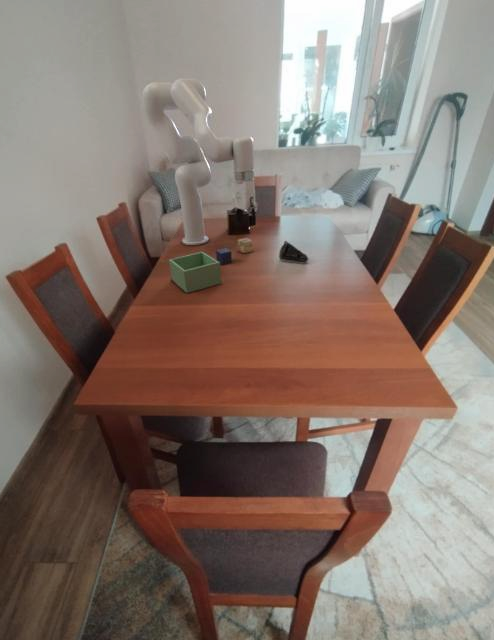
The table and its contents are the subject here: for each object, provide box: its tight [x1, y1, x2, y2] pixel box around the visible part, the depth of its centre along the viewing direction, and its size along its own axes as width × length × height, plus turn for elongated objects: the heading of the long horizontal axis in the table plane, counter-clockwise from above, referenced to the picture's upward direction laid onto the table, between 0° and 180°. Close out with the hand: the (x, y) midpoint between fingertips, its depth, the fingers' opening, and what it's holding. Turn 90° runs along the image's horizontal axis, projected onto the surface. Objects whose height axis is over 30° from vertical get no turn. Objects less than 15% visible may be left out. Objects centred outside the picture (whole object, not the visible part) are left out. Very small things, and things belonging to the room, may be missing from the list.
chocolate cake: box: [278, 240, 309, 265], centre depth 133 cm, size 10×7×12 cm
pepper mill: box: [226, 207, 251, 236], centre depth 164 cm, size 16×11×18 cm
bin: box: [168, 251, 222, 294], centre depth 118 cm, size 14×14×8 cm
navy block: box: [215, 247, 233, 266], centre depth 133 cm, size 5×5×5 cm
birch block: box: [237, 237, 253, 254], centre depth 143 cm, size 5×5×5 cm
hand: (245, 223), depth 137 cm, fingers open, 9 cm apart
